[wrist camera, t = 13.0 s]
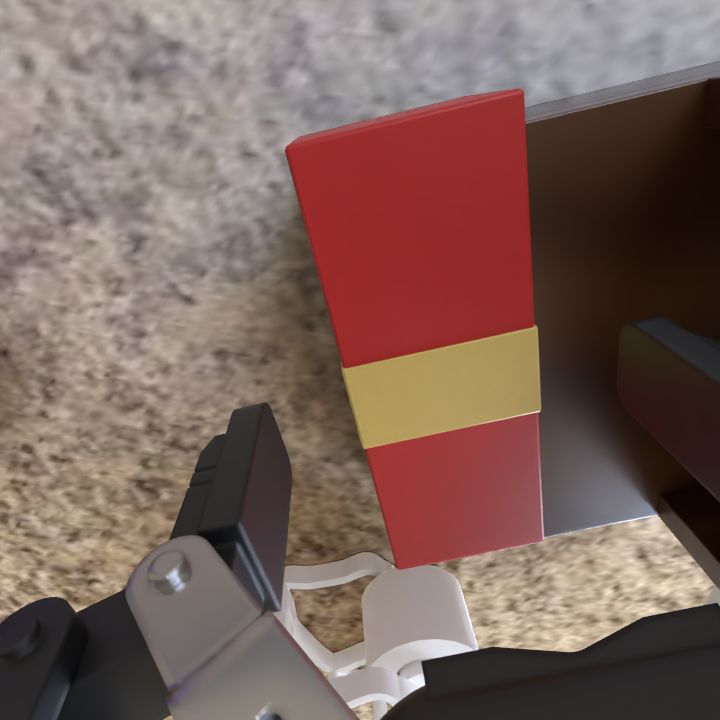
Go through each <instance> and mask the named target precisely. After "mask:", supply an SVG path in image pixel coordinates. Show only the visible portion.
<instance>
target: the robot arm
mask: <svg viewBox="0 0 720 720" xmlns="http://www.w3.org/2000/svg"><path fill="white" fill-rule="evenodd" d="M617 392H618V396H619V398H620V401H621V403H622V405H623V407H624V408H625V409H626V411H627V412H628V413H629V414H630V415H631V416H632V417H633V418H634V419H635V420H636V421H637V422H638V423H639V424H640V425H641V426H642V427H644V428H645V429H646V430H647V431H648V432H649V433H650V434H651V435H652V436H653V437H654V438H655V439H656V440H657V441H658V442H659V443H660V444H661V445H662V446H663V447H664V448H665V449H666V450H667V451H668V452H669V453H670V454H671V455H672V456H673V457H674V458H675V459H676V460H677V461H678V462H679V463H680V464H681V465H682V466H683V467H684V468H685V469H686V470H687V471H688V472H689V473H690V474H691V475H692V476H693V477H694V478H695V479H696V480H697V481H698V482H699V483H700V484H701V485H702V486H703V487H705V488H706V489H707V490H708V491H709V492H710V493H711V494H712V495H713V496H714V497H715V498H716V499H717V500H718V501H719V502H720V340H718V339H715V338H712V337H708V336H705V335H701V334H698V333H695V332H690V331H688V330H686V329H685V328H683V327H681V326H680V325H678V324H676V323H675V322H673V321H671V320H670V319H668V318H666V317H664V316H658V317H653V318H649V319H644V320H640V321H635V322H631V323H626V324H624V325H623V326H622V327H621V329H620V333H619V346H618V365H617ZM189 485H190V488H188V490H187V492H186V495H185V498H184V501H183V503H182V506H181V509H180V512H179V515H178V517H177V520H176V523H175V526H174V528H173V531H172V534H171V537H170V539H169V541H167V542H165V543H163V544H161V545H160V546H158V547H157V548H155V549H154V550H152V551H151V552H150V553H149V554H148V555H146V556H145V557H144V558H143V559H142V560H141V561H140V563H139V564H138V565H137V566H136V568H135V569H134V570H133V572H132V574H131V576H130V577H129V580H128V583H127V586H126V589H124V590H122V591H120V592H118V593H116V594H114V595H112V596H110V597H108V598H106V599H104V600H101V601H99V602H97V603H95V604H93V605H91V606H89V607H87V608H85V609H83V610H81V611H79V612H75V611H74V609H73V608H72V607H71V606H70V604H69V603H68V602H67V601H66V600H64V599H62V598H58V597H49V598H44V599H41V600H37V601H35V602H33V603H30V604H28V605H26V606H24V607H23V608H21V609H19V610H18V611H16V612H15V613H13V614H12V615H10V616H9V617H8V618H6V619H5V620H4V621H3V622H1V623H0V720H163V719H165V718H166V717H168V716H170V715H172V717H173V720H359V718H358V717H357V716H356V715H355V713H354V712H353V711H352V710H351V708H350V707H349V706H348V705H347V704H346V702H345V701H344V700H343V699H342V697H341V696H340V695H339V694H338V692H337V691H336V690H335V689H334V688H333V686H332V685H331V684H330V683H329V681H328V680H327V679H326V678H325V676H324V675H323V674H322V673H321V672H320V670H319V669H318V668H317V667H316V665H315V664H314V663H313V662H312V660H311V659H310V658H309V657H308V655H307V654H306V653H305V652H304V651H303V649H302V648H301V647H300V646H299V644H298V643H297V642H296V641H295V639H294V638H293V637H292V636H291V635H290V633H289V632H288V631H287V630H286V628H285V627H284V626H283V625H282V623H281V622H280V621H279V620H278V619H277V617H276V616H275V615H274V614H273V612H278V611H281V605H282V593H283V582H284V570H285V558H286V547H287V535H288V523H289V512H290V500H291V488H292V471H291V464H290V460H289V456H288V453H287V450H286V448H285V445H284V442H283V440H282V437H281V434H280V432H279V429H278V426H277V423H276V421H275V418H274V415H273V413H272V410H271V408H270V406H269V405H268V403H261V404H257V405H252V406H248V407H243V408H239V409H235V410H234V411H233V412H232V415H231V419H230V422H229V425H228V428H227V432H226V434H221V435H217V436H215V437H214V438H213V439H212V440H211V441H210V443H209V444H208V445H207V446H206V447H205V448H204V450H203V451H202V452H201V454H200V456H199V459H198V462H197V465H196V467H195V473H193V476H192V479H191V481H190V484H189ZM421 664H422V670H423V675H424V681H425V685H424V686H422V687H420V688H419V689H417V690H415V691H413V692H411V693H410V694H409V695H407V696H406V697H404V698H403V699H402V700H400V701H399V702H398V703H396V704H395V705H394V706H393V707H392V708H391V709H390V710H389V711H388V712H387V713H386V714H385V715H384V716H383V717H382V718H381V719H380V720H720V606H719V605H718V603H714V604H708V605H703V606H698V607H693V608H688V609H683V610H678V611H673V612H668V613H663V614H657V615H652V616H647V617H643V618H641V619H639V620H637V621H635V622H633V623H631V624H630V625H628V626H626V627H624V628H622V629H620V630H618V631H617V632H615V633H613V634H611V635H609V636H607V637H605V638H604V639H602V640H600V641H598V642H596V643H594V644H592V645H591V646H589V647H587V648H585V649H583V650H580V651H577V652H557V651H543V650H528V649H514V648H500V647H490V648H485V649H480V650H474V651H469V652H464V653H459V654H454V655H449V656H444V657H439V658H434V659H429V660H424V661H421Z"/></svg>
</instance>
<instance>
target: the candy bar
mask: <svg viewBox="0 0 720 720" xmlns="http://www.w3.org/2000/svg"><path fill="white" fill-rule="evenodd" d="M285 153H286V157H287V160H288V164H289V168H290V172H291V175H292V179H293V183H294V186H295V190H296V194H297V198H298V201H299V205H300V209H301V213H302V216H303V220H304V224H305V228H306V231H307V235H308V239H309V243H310V246H311V250H312V254H313V257H314V261H315V265H316V269H317V272H318V276H319V280H320V284H321V287H322V291H323V295H324V299H325V302H326V306H327V310H328V314H329V317H330V321H331V325H332V329H333V332H334V336H335V340H336V343H337V347H338V351H339V355H340V358H341V371H342V375H343V379H344V383H345V386H346V390H347V394H348V397H349V401H350V405H351V408H352V412H353V416H354V420H355V423H356V427H357V431H358V434H359V438H360V442H361V445H362V447H363V449H365V452H366V456H367V459H368V463H369V467H370V471H371V474H372V478H373V482H374V486H375V489H376V493H377V497H378V500H379V504H380V508H381V512H382V515H383V519H384V523H385V527H386V530H387V534H388V538H389V542H390V545H391V549H392V553H393V557H394V560H395V564H396V568H397V569H398V570H404V569H409V568H414V567H419V566H424V565H429V564H434V563H439V562H444V561H449V560H454V559H459V558H464V557H469V556H474V555H479V554H484V553H489V552H494V551H499V550H504V549H509V548H514V547H519V546H524V545H529V544H534V543H539V542H543V541H544V525H543V503H542V481H541V459H540V437H539V415H538V412H540V411H541V392H540V368H539V344H538V328H537V326H536V325H535V324H534V304H533V282H532V260H531V238H530V216H529V194H528V172H527V150H526V128H525V106H524V92H523V90H522V89H512V90H505V91H498V92H491V93H484V94H477V95H471V96H464V97H460V98H456V99H452V100H448V101H443V102H439V103H435V104H431V105H427V106H423V107H419V108H415V109H411V110H407V111H403V112H398V113H394V114H390V115H386V116H382V117H378V118H374V119H370V120H366V121H362V122H358V123H353V124H349V125H345V126H341V127H337V128H333V129H329V130H325V131H321V132H317V133H313V134H308V135H304V136H300V137H298V138H297V139H296V140H294V141H293V142H292V143H290V144H289V145H288V146H286V148H285Z"/></svg>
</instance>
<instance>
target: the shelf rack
mask: <svg viewBox="0 0 720 720" xmlns="http://www.w3.org/2000/svg"><path fill="white" fill-rule="evenodd" d="M525 128H526V150H527V172H528V194H529V216H530V238H531V260H532V282H533V304H534V324H535V325H536V326H537V328H538V344H539V368H540V392H541V411H540V412H538V415H539V437H540V459H541V481H542V503H543V525H544V537H549V536H554V535H559V534H564V533H569V532H574V531H579V530H584V529H589V528H594V527H599V526H604V525H609V524H614V523H619V522H624V521H629V520H634V519H639V518H644V517H649V516H654V515H658V516H659V517H660V518H661V520H662V521H663V522H664V523H665V524H666V526H667V527H668V528H669V529H670V530H671V532H672V533H673V534H674V535H675V537H676V538H677V539H678V540H679V541H680V543H681V544H682V545H683V546H684V547H685V549H686V550H687V551H688V552H689V553H690V555H691V556H692V557H693V558H694V559H695V561H696V562H697V563H698V564H699V566H700V567H701V568H702V569H703V570H704V572H705V573H706V574H707V575H708V576H709V578H710V579H711V580H712V581H713V582H714V584H715V585H716V586H717V587H718V588H719V590H720V502H719V501H718V500H717V499H716V498H715V497H714V496H713V495H712V494H711V493H710V492H709V491H708V490H707V489H706V488H705V487H703V486H702V485H701V484H700V483H699V482H698V481H697V480H696V479H695V478H694V477H693V476H692V475H691V474H690V473H689V472H688V471H687V470H686V469H685V468H684V467H683V466H682V465H681V464H680V463H679V462H678V461H677V460H676V459H675V458H674V457H673V456H672V455H671V454H670V453H669V452H668V451H667V450H666V449H665V448H664V447H663V446H662V445H661V444H660V443H659V442H658V441H657V440H656V439H655V438H654V437H653V436H652V435H651V434H650V433H649V432H648V431H647V430H646V429H645V428H644V427H642V426H641V425H640V424H639V423H638V422H637V421H636V420H635V419H634V418H633V417H632V416H631V415H630V414H629V413H628V412H627V411H626V409H625V408H624V407H623V405H622V403H621V401H620V398H619V396H618V392H617V365H618V346H619V333H620V329H621V327H622V326H623V325H624V324H626V323H631V322H635V321H640V320H644V319H649V318H653V317H658V316H664V317H666V318H668V319H670V320H671V321H673V322H675V323H676V324H678V325H680V326H681V327H683V328H685V329H686V330H688V331H690V332H695V333H698V334H701V335H705V336H708V337H712V338H715V339H718V340H720V61H717V62H713V63H709V64H705V65H701V66H697V67H692V68H688V69H684V70H680V71H676V72H672V73H668V74H663V75H659V76H655V77H651V78H647V79H643V80H638V81H634V82H630V83H626V84H622V85H618V86H614V87H609V88H605V89H601V90H597V91H593V92H589V93H585V94H580V95H576V96H572V97H568V98H564V99H560V100H555V101H551V102H547V103H543V104H539V105H535V106H531V107H526V108H525Z"/></svg>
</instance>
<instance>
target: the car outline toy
mask: <svg viewBox="0 0 720 720" xmlns="http://www.w3.org/2000/svg"><path fill="white" fill-rule="evenodd" d="M366 575H372V576H374V577H376V578H374V579H373V580H372V581H371V582H370V584H369V585H368V586H367V587H366V588H365V590H364V593H363V595H362V598H361V600H362V615H363V629H364V641H363V642H360V643H358V644H355V645H353V646H351V647H348V648H346V649H344V650H341V651H338V652H335V653H333V652H331V651H329V650H328V649H327V648H325V647H324V646H323V645H322V644H321V643H320V642H319V641H318V640H317V639H316V638H315V637H314V636H313V635H312V634H311V633H310V632H309V631H308V630H307V629H306V628H305V627H304V626H303V625H302V624H301V623H300V621H299V620H298V619H297V614H296V608H295V603H294V599H293V596H292V594H291V592H290V589H317V588H323V587H328V586H334V585H339V584H345V583H348V582H351V581H353V580H355V579H358V578H360V577H363V576H366ZM273 614H274V615H275V616H276V617H277V619H278V620H279V621H280V622H281V623H282V625H283V626H284V627H285V628H286V630H287V631H288V632H289V633H290V635H291V636H292V637H293V638H294V639H295V641H296V642H297V643H298V644H299V646H300V647H301V648H302V649H303V651H304V652H305V653H306V654H307V655H308V657H309V658H310V659H311V660H312V662H313V663H314V664H315V665H317V666H318V667H319V668H320V669H321V670H323V671H324V672H326V673H327V680H328V681H329V683H330V684H331V685H332V686H333V688H334V689H335V690H336V691H337V692H338V694H339V695H340V696H341V697H342V699H343V700H344V701H345V702H346V704H347V705H348V706H349V707H350V708H354V707H357V706H360V705H362V704H365V703H368V702H371V701H373V712H374V720H380V719H381V718H382V717H383V716H384V715H385V714H386V713H387V703H389V704H391V705H392V706H394V705H395V704H396V703H398V702H399V701H400V700H402V699H403V698H404V697H406V696H407V695H409V694H410V693H411V692H413V691H415V690H417V689H419V688H420V687H422V686H424V685H425V681H424V675H423V670H422V664H421V661H424V660H429V659H434V658H439V657H444V656H449V655H454V654H459V653H464V652H469V651H474V650H479V649H478V645H477V642H476V638H475V635H474V631H473V628H472V624H471V621H470V617H469V614H468V610H467V607H466V603H465V600H464V596H463V593H462V589H461V587H460V584H459V582H458V580H457V579H456V578H455V577H454V576H453V575H452V574H451V573H450V572H448V571H446V570H444V569H441V568H439V567H437V566H431V565H424V566H419V567H414V568H409V569H404V570H398V569H397V568H396V567H395V566H393V565H392V564H391V563H389V562H387V561H385V560H384V559H382V558H381V557H380V556H378V555H376V554H374V553H371V552H362V553H359V554H356V555H353V556H351V557H349V558H347V559H344V560H341V561H336V562H331V563H326V564H320V565H313V566H294V565H293V566H286V567H285V570H284V582H283V593H282V605H281V611H278V612H273ZM365 664H366V668H364V669H361V670H359V669H358V668H357V667H360V666H362V665H365Z"/></svg>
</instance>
